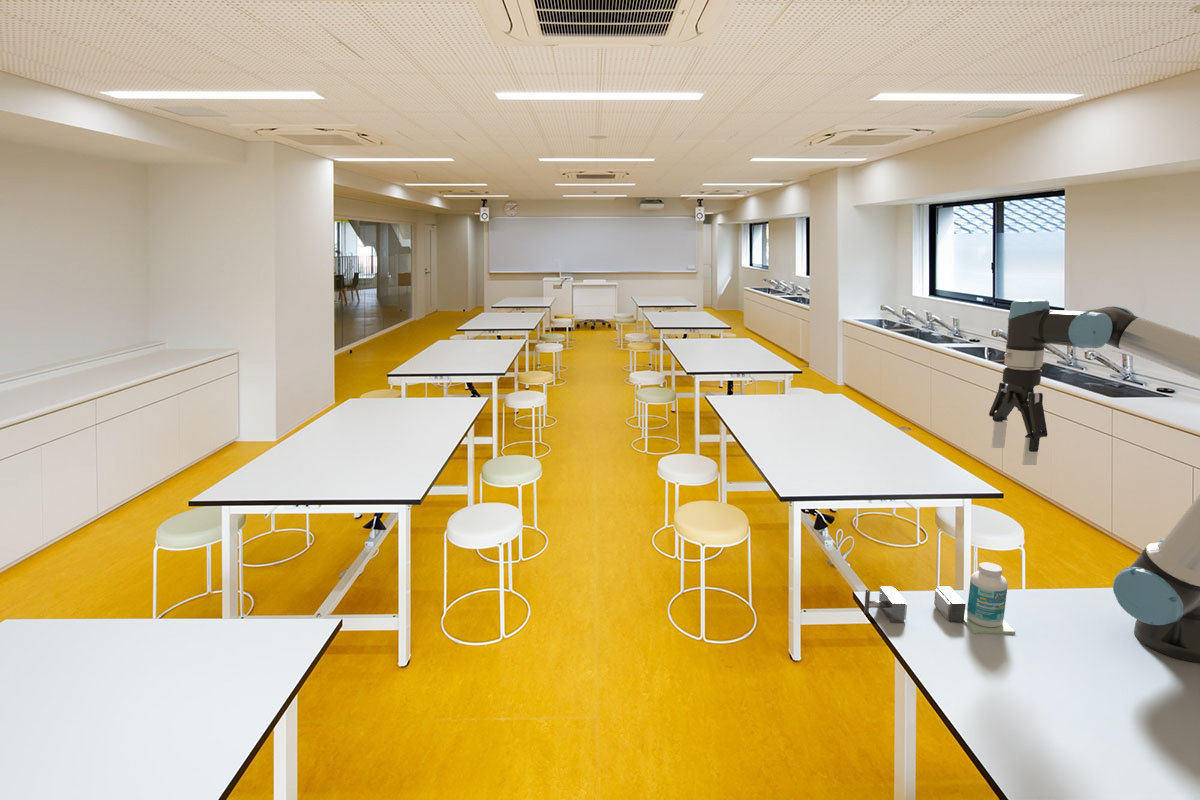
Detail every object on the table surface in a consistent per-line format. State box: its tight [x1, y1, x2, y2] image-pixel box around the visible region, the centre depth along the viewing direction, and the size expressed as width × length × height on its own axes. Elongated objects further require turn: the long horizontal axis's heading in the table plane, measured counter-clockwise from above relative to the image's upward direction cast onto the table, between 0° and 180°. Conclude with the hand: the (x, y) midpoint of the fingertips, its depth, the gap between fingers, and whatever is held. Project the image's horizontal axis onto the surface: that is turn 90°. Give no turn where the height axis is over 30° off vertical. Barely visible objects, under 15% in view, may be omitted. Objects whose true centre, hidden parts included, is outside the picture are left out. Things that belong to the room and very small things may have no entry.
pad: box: [963, 610, 1016, 635], centre depth 158 cm, size 9×9×1 cm
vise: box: [863, 586, 966, 624], centre depth 162 cm, size 21×8×7 cm, turn 87°
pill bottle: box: [966, 561, 1008, 627], centre depth 156 cm, size 8×7×14 cm
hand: (1012, 455), depth 161 cm, fingers open, 13 cm apart
